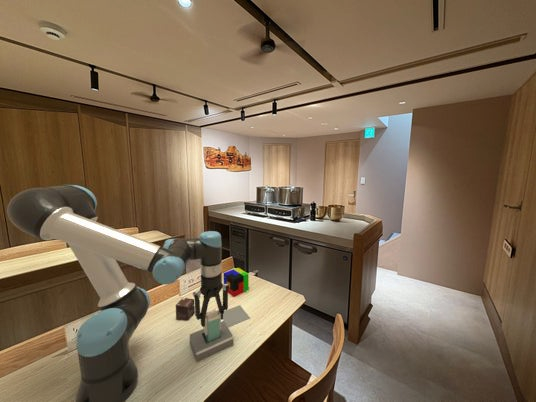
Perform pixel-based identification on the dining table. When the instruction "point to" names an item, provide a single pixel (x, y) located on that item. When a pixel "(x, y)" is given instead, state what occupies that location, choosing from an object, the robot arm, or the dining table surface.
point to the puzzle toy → (237, 281)
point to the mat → (234, 316)
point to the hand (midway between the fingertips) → (212, 329)
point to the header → (205, 350)
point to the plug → (212, 326)
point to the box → (185, 309)
